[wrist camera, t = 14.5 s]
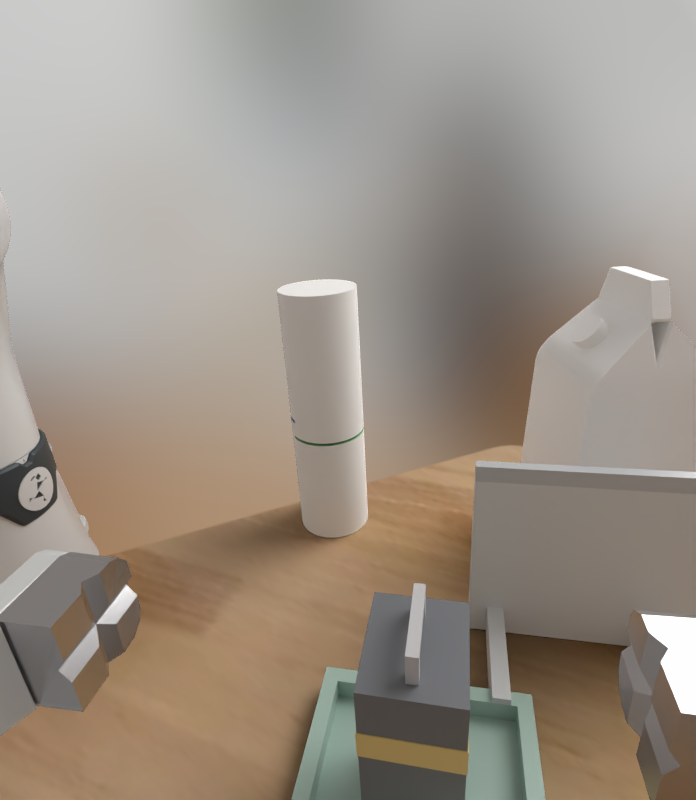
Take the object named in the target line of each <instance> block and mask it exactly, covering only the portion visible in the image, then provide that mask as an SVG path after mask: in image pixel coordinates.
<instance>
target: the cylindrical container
mask: <svg viewBox="0 0 696 800" xmlns="http://www.w3.org/2000/svg"><path fill="white" fill-rule="evenodd" d="M277 295H278V304H279V313H280V322H281V331H282V340H283V349H284V358H285V367H286V376H287V385H288V394H289V402H290V412H291V421H292V430H293V439H294V448H295V457H296V466H297V475H298V484H299V493H300V502H301V511H302V520H303V524H304V526H305V528H306V529H307V530H308V531H310V532H311V533H313V534H315V535H318V536H321V537H328V538H336V537H343V536H347V535H350V534H353V533H355V532H357V531H358V530H359V529H361V528H362V527H363V526H364V525H365V523H366V521H367V518H368V507H367V487H366V467H365V446H364V427H363V405H362V385H361V364H360V344H359V325H358V304H357V285H356V284H355V283H354V282H351V281H346V280H331V279H326V280H310V281H302V282H296V283H291V284H288V285H284V286H282V287H280V288H279V289H278V290H277Z"/></svg>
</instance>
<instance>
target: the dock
mask: <svg viewBox="0 0 696 800" xmlns="http://www.w3.org/2000/svg"><path fill="white" fill-rule="evenodd" d="M468 603H469V625H470V628H472V629H481V630H486V646H487V666H488V686H489V689H491V694H492V703H497V704H504V705H511V701H512V700H511V689H510V678H509V667H508V656H507V645H506V634H505V632H507V633H516V634H525V635H533V636H542V637H551V638H560V639H568V640H577V641H586V642H594V643H603V644H612V645H621V646H630V645H632V644H631V641H630V638H629V636H628V633H627V630H626V628H627V624H628V620H629V616H630V614H631V613H632V611H633V610H634V609H635V610H646V611H657V612H668V613H679V614H690V615H696V472H685V471H666V470H646V469H627V468H608V467H588V466H569V465H549V464H530V463H510V462H491V461H476V466H475V481H474V501H473V521H472V541H471V561H470V581H469V601H468Z"/></svg>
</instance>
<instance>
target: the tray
mask: <svg viewBox="0 0 696 800" xmlns="http://www.w3.org/2000/svg"><path fill="white" fill-rule="evenodd" d="M357 673H358V671H355V670H348V669H341V668H333V667H327V668H326V672H325V676H324V680H323V683H322V687H321V691H320V694H319V698H318V702H317V706H316V709H315V713H314V717H313V721H312V724H311V728H310V732H309V735H308V739H307V743H306V747H305V750H304V754H303V758H302V762H301V765H300V769H299V773H298V776H297V780H296V784H295V788H294V791H293V795H292V799H291V800H361V788H360V774H359V761H358V756H357V752H356V739H355V732H356V721H355V708H354V695H353V692H354V687H355V683H356V678H357ZM511 700H512V701H511V705H504V704H497V703H492V694H491V689H487V688H480V687H473V686H470V721H469V760H468V776H467V775H466V790H465V800H545V792H544V785H543V777H542V769H541V762H540V754H539V746H538V739H537V731H536V723H535V716H534V708H533V700H532V695H531V694H524V693H516V692H511Z"/></svg>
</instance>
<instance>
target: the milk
mask: <svg viewBox="0 0 696 800" xmlns="http://www.w3.org/2000/svg"><path fill="white" fill-rule="evenodd" d="M521 463H530V464H549V465H569V466H588V467H608V468H627V469H646V470H666V471H685V472H696V347H695V345H694V344H693V343H692V342H691V341H690V340H689V339H688V338H687V337H686V336H685V335H684V334H683V333H682V332H681V331H680V330H679V329H678V328H677V327H676V326H675V325H674V324H673V322H671V301H670V282H669V279H666V278H663V277H659V276H656V275H653V274H650V273H647V272H644V271H640V270H637V269H634V268H631V267H627V266H621V267H610V270H609V272H608V275H607V277H606V279H605V282H604V284H603V287H602V289H601V292H600V294H599V298H598V299H596V300H594V301H593V302H592V303H591V304H590V305H588V306H587V307H586V308H585V309H583V310H582V311H581V312H580V313H578V314H577V315H576V316H575V317H573V318H572V319H571V320H570V321H569V322H567V323H566V324H565V325H564V326H562V327H561V328H560V329H558V330H557V331H556V332H555V333H554V334H552V335H551V336H550V337H549V338H548V339H547V340H546V341H545V342H544V343H543V345H542V346H541V347H540V349H539V351H538V353H537V357H536V361H535V367H534V375H533V381H532V388H531V395H530V402H529V410H528V416H527V423H526V430H525V437H524V444H523V451H522V457H521Z"/></svg>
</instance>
